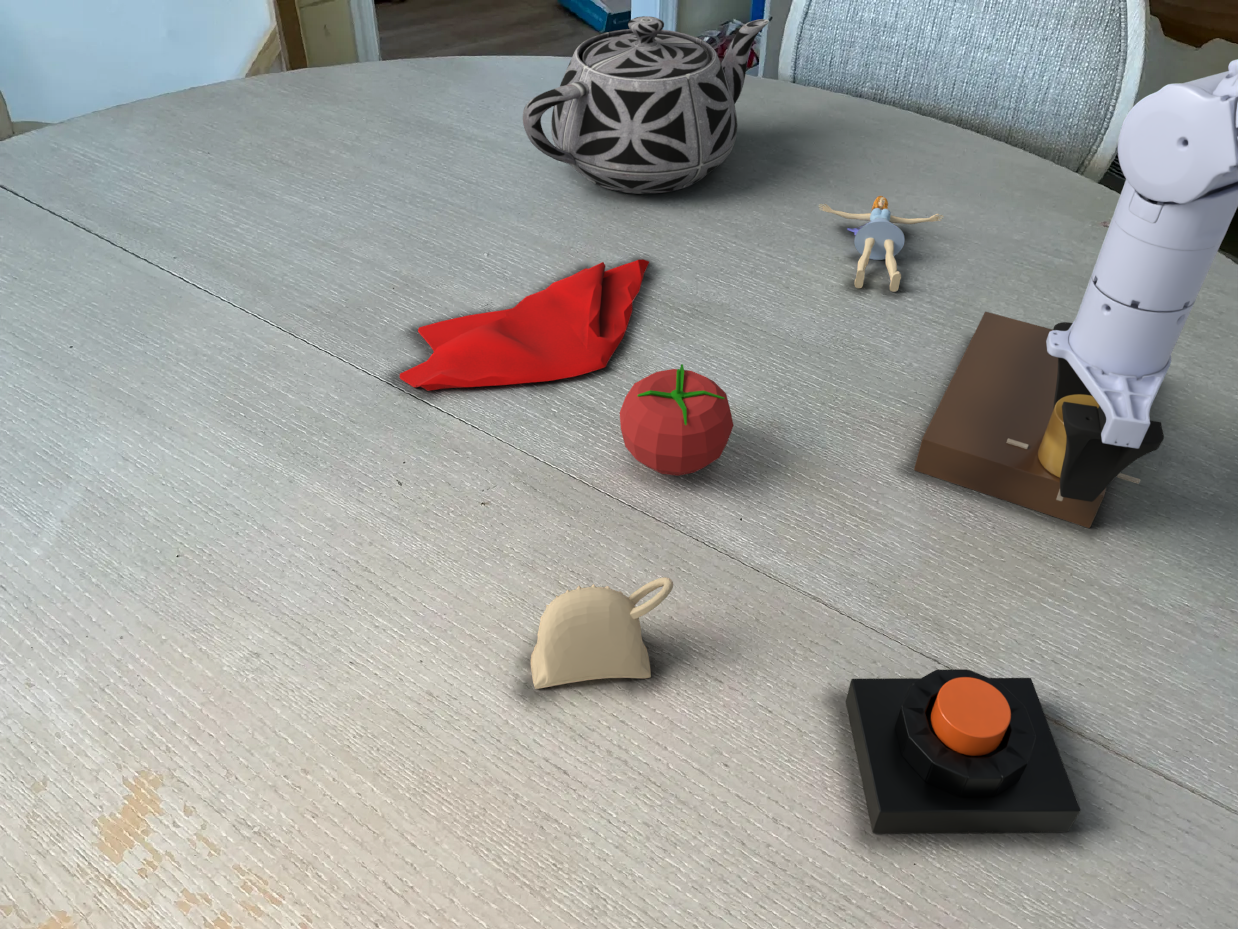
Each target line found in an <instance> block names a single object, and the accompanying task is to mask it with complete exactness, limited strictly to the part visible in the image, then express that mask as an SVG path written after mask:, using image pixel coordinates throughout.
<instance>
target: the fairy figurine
mask: <svg viewBox="0 0 1238 929" xmlns="http://www.w3.org/2000/svg"><path fill="white" fill-rule="evenodd" d="M818 208H819V211H823V212H826V213H829V214H834V215H836V216H839V217H842V218H843V219H847V220H855V221H863V222H864V221H866V223H864V224H862V225H861V226H858V227H855V228H851V227H850V228H848V227H846V230H847V231H849V232H852V233H853V234H854V239H853V240H854V241H853V242H854V243H853V244H854V247H855V249H856V251H857V253H859V254H860V255H861V256H860V258H859V259H858V261H857V268H856V269H857V271H856V276H855V279H854V287H855V288H856V289H862V288H863V286H864V281H865V275H866V268H867V266H868V265H869V261H870V260H874V261H881V260H882V261H883V260H885V267H886V269H887V273H888V274H889V275H888V276H889V279H890V283H889V291H890V292H894V293H895V292H897V291H898V290H899V286H900V282H901V279H902V273H901V272H900V271H898V264H897V261H896V258H895V256H896V255H897V254H899V253H900V252H901V250H902V249H903V248H904V245H905V240H906V239H905V235H904V232H903V231H902V230H901V228H900V227H899V226H897V225H895V224H898V225H900V224H901V225H902V224H904V225H915V224H920V223H921V224H922V223H928V222H929V223H935V222H942V220H943V219H944V217H945V216H944V215H943V214H940V213H935V214H934V215H931V216H930V217H925V218H922V217H919V218H917V217H916V218H904V217H898V216H895V215H892V214H891V213H892V212H891V210H890V209H889V201H888V199H887V198H886V197H884V196H883V195H878V196H877V197H876V198H875V199H874V201H873V204H872V205H871V212H867V213H850V212H846V211H841V210H836V209H832V208H831V207H830V206H829V205H828V204H826V203H823V204H822V203H820V204H818ZM867 221H868V222H867Z"/></svg>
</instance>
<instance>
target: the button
mask: <svg viewBox="0 0 1238 929" xmlns="http://www.w3.org/2000/svg"><path fill="white" fill-rule="evenodd" d="M1010 720H1011V711H1010V707H1009V704H1008V702H1007V700H1006V698H1005V697H1004V696H1003V695H1002V693H1001V692H1000V691H999V690H997V689H996V688H995V687H994V686H992V685H990V684H989V683H987V682H985V681H982V680H980V679H976V678H971V677H960V678H955V679H952V680H950V681H948V682H947V683H945V684H944V685H943V686H942V687H941V689H940V691H939V693H938V695H937V698H936V701H935V704H934V706H933V709H932V712H931V724H932V727H933V730H934V732H935V734H936V735H937V737H938V738H939V739H940V740H941V741H942V742H943V743H944V744H945V745H946V746H947V747H949V748H950V749H952V750H954V751H956V752H958V753H961V754H965V755H970V756H981V755H985V754H988V753H990V752H992V751H994V750H995V749H996V748H997V747H998V746H999V745H1000V743H1001V741H1002V739H1003V736H1004V734H1005V732H1006V730H1007V728H1008V726H1009V723H1010Z"/></svg>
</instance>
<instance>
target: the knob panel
mask: <svg viewBox="0 0 1238 929" xmlns="http://www.w3.org/2000/svg"><path fill="white" fill-rule="evenodd" d="M1050 331H1053V328H1049V327H1046V326H1041V325H1038V324H1034V323H1030V322H1027V321H1022V320H1019V319H1015V318H1012V317H1008V316H1004V315H1000V314H996V313H993V312H990V311H984V313H983V315H982V317H981V319H980V321H979V323H978V325H977V327H976V329H975V331H974V333H973V335H972V337H971V339H970V342H968V345H967V347H966V349H965V351H964V353H963V356H962V358H961V359H960V361H959V363H958V366H957V367H956V369H955V372H954V373H953V376H952V378H951V379H950V382H949V384H948V385H947V387H946V390H945V392H944V394H943V395H942V398H941V400H940V402H939V403H938V406H937V408H936V410H935V411H934V414H933V416H932V417H931V420H930V422H929V424H928V426H927V428H926V430H925V432H924V434H923V436H922V438H921V441H920V445H919V448H918V453H917V456H916V460H915V463H914V468H913V471H914V472H918V473H921V474H924V475H927V476H929V477H933V478H936V479H939V480H942V481H944V482H948V483H951V484H955V485H957V486H960V487H963V488H966V489H969V490H973V491H976V492H978V493H981V494H985V495H988V496H990V497H994V498H997V499H1000V500H1003V501H1006V502H1009V503H1011V504H1014V505H1017V506H1020V507H1024V508H1027V509H1030V510H1033V511H1035V512H1039V513H1042V514H1045V515H1048V516H1051V517H1054V518H1057V519H1060V520H1062V521H1066V522H1069V523H1071V524H1075V525H1077V526H1081V527H1084V528H1087V529H1091V526H1092V524H1093V523H1094V520H1095V518H1096V516H1097V513H1098V511H1099V509H1100V507H1101V505H1102V503H1103V500H1104V498H1105V495H1106V492H1107V488H1108V486H1107V487H1106V488H1105V489H1104V491H1103V492H1102V493H1101V494H1100V495H1099V496H1098V497H1097V498H1096V499H1095V500H1094V501H1092V502H1089V501H1083V500H1077V499H1071V498H1065V497H1062V496H1061V495H1060V478H1059V477H1057V476H1055V475H1053V474H1052V473H1050V472H1049V471H1048V470H1046V469H1045V468H1044V467H1043V465H1042V464H1041V462H1040V460H1039V458H1038V450H1039V447H1040V444H1041V442H1042V439H1043V436H1044V434H1045V431H1046V428H1047V426H1048V423H1049V420H1050V418H1051V415H1052V412H1053V406H1054V398H1055V391H1056V383H1057V373H1058V357H1054V356H1051V355H1050V354H1049V353H1048V352H1047V344H1046V340H1047V337H1048V334H1049V332H1050ZM1116 478H1118V479H1121V480H1125V481H1128V482H1131V483H1134V484H1137V485H1139V484H1140V483H1141V479H1140V478H1137V477H1135V476H1131V475H1128V474H1124V473H1121V472H1120V473H1119V474H1118V475H1117V476H1116Z"/></svg>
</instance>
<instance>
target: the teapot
mask: <svg viewBox="0 0 1238 929" xmlns="http://www.w3.org/2000/svg"><path fill="white" fill-rule="evenodd" d="M768 24H769V19H765V18H762V19H756V20H752V21H751V20H750V21H749V22H746V23H744V24H743V25H742V27H740V29H739V30H738V31H737V32H736V33H735V35H734V36H733V39H732V41H731V43H730V45H729V47H728V49H727V51H726V53H725V56H724V58H723V59H722V61H720V58H719V56H718V53H717V52H716V50H715V49H714V48H713V47H712V45H711V44H709V43H708V42H706V41H704V40H703V39H700V38H699V37H697V36H695V35H692V34H688V33H684V32H680V31H674V30H669V29H664V27H665V22H664V21H663V20H662V19H660V18H659V17H656V16H648V15H647V16H646V15H643V16H636V17H634V18H631V19H630V20H629V21H628V23H627V26H628V28H629V29H628V28H627V29H620V30H613V31H609V32H603V33H600V34H598V35H594V36H592V37H590V38H588V39H586V40H584V41H583V42H581V44H579V45H578V46H577V48H575V50H574V52H573V54H572V56H571V59H570V61H569V63H568V66H567V68H566V69H565V71H564V74H563V77H562V79H561V82H560V83H559V86H558V87H555V88H553V89H549V90H547V91H545V92H543V93H540V94H538V95H536V96H534V97H533V98H531V99H530V100H529V101H528V102H527V104H525V106H524V108H523V112H522V124H523V129H524V131H525V134H526V136H527V138H528V140H529V141H530V142H531V144H532V145H533V146H534V147H535V148H536V149H537V150H538V151H539V152H541V153H542V154H544V155H546V156H548V157H549V158H552V159H554V160H555V161H559V162H561V163H564V164H569V166H570V167H572V168H573V169H574V170H575V171H576V172H578V173H579V174H581V176H582V177H584V178H585V180H588V181H589V182H591V183H592V184H594V185H596V186H599V187H602V188H604V189H606V190H607V189H608V190H611V191H615V192H620V193H626V194H637V195H651V194H652V195H653V194H662V193H663V194H664V193H669V192H674V191H678V190H682V189H685V188H687V187H690V186H693V185H694V184H696V183H698V182H699V181H701V180H702V179H704V178H705V177H706V176H707V175H709V174H710V173H712V172H714V170H716V169H717V168H718V167H719V166H720V165H722V163H723V162H724V161H725V160H726V159H727V157H728V156H729V155H730V154H731V152H732V150H733V148H734V146H735V143H736V139H737V136H738V135H737V134H738V119H737V118H738V117H737V110H736V105H735V104H736V103H737V102H738V100H739V99H740V96H741V93H742V91H743V88H744V84H745V79H746V73H747V68H748V61H749V55H750V52H751V48H752V46H753V43H754V42H755V39H756V37H757V36H758V34H759V33H760V32H761V31H762V30H763V29H764V28H765V27H766V26H767V25H768ZM551 108H552V113H551V121H550V122H551V123H550V126H551V127H550V130H551V132H550V133H551V137H552V141H553V143H552V142H551V141H550V140H549V139H548V137H547V136H546V134H545V132H544V128H543V126H542V116H543V115H544V114H545V112H547V111H548V110H550V109H551Z"/></svg>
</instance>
